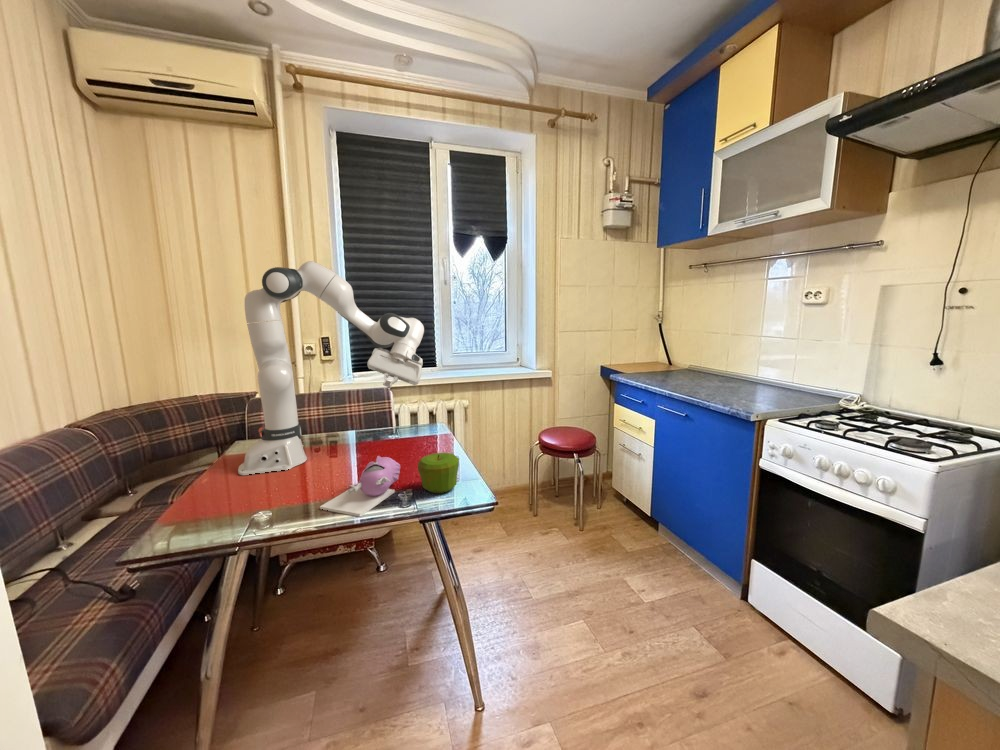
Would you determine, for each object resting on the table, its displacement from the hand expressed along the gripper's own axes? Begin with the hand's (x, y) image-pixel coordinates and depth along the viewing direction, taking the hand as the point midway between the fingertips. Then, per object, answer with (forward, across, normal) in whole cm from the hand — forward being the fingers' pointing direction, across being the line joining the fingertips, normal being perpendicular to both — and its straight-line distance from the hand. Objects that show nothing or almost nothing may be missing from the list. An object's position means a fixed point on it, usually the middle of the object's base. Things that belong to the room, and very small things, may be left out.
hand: (386, 386), depth 154 cm
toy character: (+29, +12, -6) cm, 32 cm away
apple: (+31, +31, -14) cm, 46 cm away
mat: (+42, +10, -14) cm, 45 cm away
